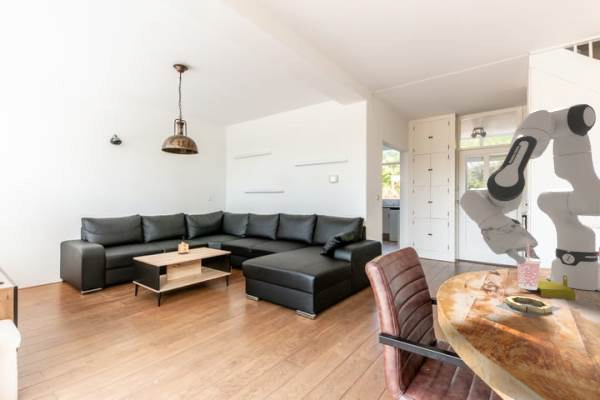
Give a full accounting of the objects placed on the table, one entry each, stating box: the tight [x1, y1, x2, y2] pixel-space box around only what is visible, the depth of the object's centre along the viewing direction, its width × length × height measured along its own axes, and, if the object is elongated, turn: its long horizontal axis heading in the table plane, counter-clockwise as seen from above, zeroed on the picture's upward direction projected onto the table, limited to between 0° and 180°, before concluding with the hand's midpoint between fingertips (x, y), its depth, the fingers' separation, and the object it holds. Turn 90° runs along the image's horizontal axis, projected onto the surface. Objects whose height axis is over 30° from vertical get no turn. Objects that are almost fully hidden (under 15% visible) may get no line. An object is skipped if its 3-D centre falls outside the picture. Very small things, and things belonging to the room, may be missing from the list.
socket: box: [505, 295, 553, 315], centre depth 89 cm, size 10×10×2 cm
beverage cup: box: [516, 243, 542, 291], centre depth 89 cm, size 6×6×14 cm
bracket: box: [518, 275, 576, 301], centre depth 103 cm, size 16×8×15 cm
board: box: [496, 302, 562, 319], centre depth 89 cm, size 16×10×1 cm, turn 115°
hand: (530, 261), depth 88 cm, fingers closed on beverage cup, 6 cm apart
